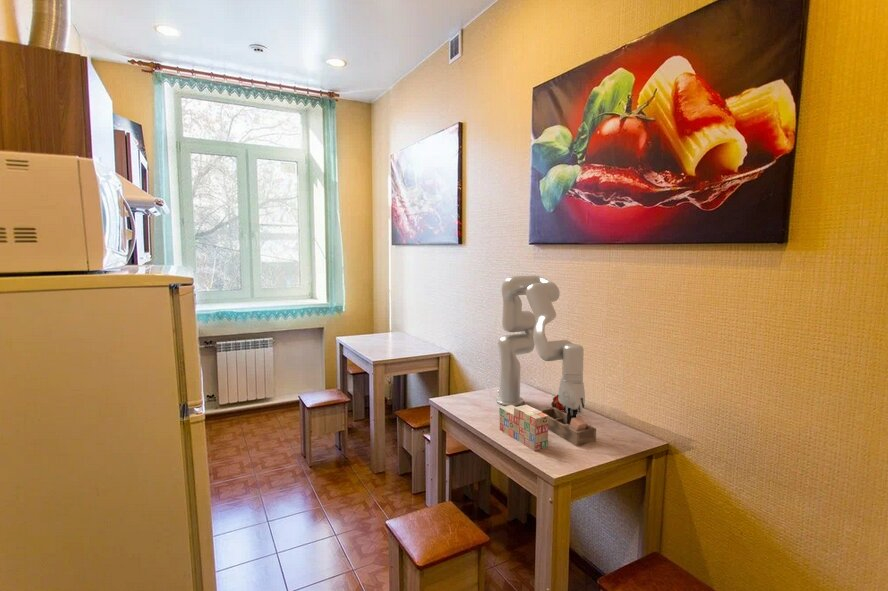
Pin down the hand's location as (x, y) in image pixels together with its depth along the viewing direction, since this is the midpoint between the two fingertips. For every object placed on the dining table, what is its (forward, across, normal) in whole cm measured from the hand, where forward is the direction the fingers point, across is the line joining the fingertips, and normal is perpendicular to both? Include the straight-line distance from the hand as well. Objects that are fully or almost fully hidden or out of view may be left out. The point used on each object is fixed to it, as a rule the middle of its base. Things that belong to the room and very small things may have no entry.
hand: (571, 423), depth 166 cm
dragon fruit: (+5, -22, +14) cm, 26 cm away
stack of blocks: (+5, -6, -18) cm, 20 cm away
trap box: (+5, -4, 0) cm, 6 cm away
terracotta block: (+1, +3, 0) cm, 3 cm away
